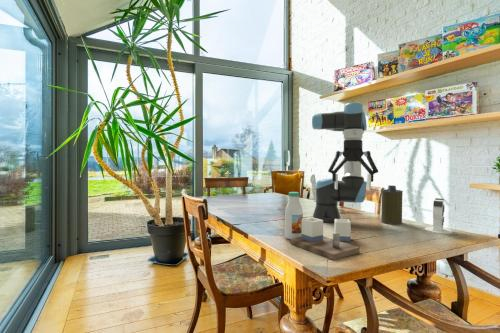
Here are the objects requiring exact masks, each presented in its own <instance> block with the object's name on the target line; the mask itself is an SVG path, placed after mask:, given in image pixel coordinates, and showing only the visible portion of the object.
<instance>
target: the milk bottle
mask: <svg viewBox="0 0 500 333" xmlns="http://www.w3.org/2000/svg"><path fill="white" fill-rule="evenodd" d="M299 199H300V192H298V191H289V192H288V202H287V205H286V206H285V211H284V214H285V215H284V237H285V239H287V240H291V239H293V238H298V237H302V219H304V218H303V217H304V213H303V207H302V205H301V202H300V200H299Z"/></svg>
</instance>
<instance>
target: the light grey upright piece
mask: <svg viewBox="0 0 500 333" xmlns="http://www.w3.org/2000/svg"><path fill="white" fill-rule="evenodd" d="M444 200H445V199H444V198H438V197H435V199H434V200H433V204H432V205H433V208H432V219H433V220H432V222H433V223H432V226H426V227H424V229H423V230H424V231H426V232H429V233H434V234H441V235H442V234H444V235H447V234H448V235H449V234H452V233H453V230H451V229H448V228H444V223H445V216H444V214H445V204H444V203H445V202H444Z"/></svg>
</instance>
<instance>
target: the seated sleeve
mask: <svg viewBox="0 0 500 333" xmlns="http://www.w3.org/2000/svg"><path fill="white" fill-rule="evenodd" d="M323 236H324V222H323V220H321V219H317V218H313V217H307V218H303V219H302V239H304V240H307V241H310V242H316V241H320V240H323Z"/></svg>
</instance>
